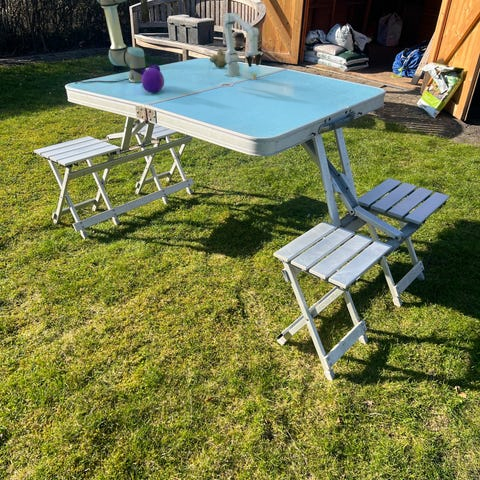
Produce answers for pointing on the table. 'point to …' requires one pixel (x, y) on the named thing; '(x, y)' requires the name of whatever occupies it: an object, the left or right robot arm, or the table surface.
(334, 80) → the table surface
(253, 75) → the cylinder
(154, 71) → the toy
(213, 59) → the teapot
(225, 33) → the right robot arm
